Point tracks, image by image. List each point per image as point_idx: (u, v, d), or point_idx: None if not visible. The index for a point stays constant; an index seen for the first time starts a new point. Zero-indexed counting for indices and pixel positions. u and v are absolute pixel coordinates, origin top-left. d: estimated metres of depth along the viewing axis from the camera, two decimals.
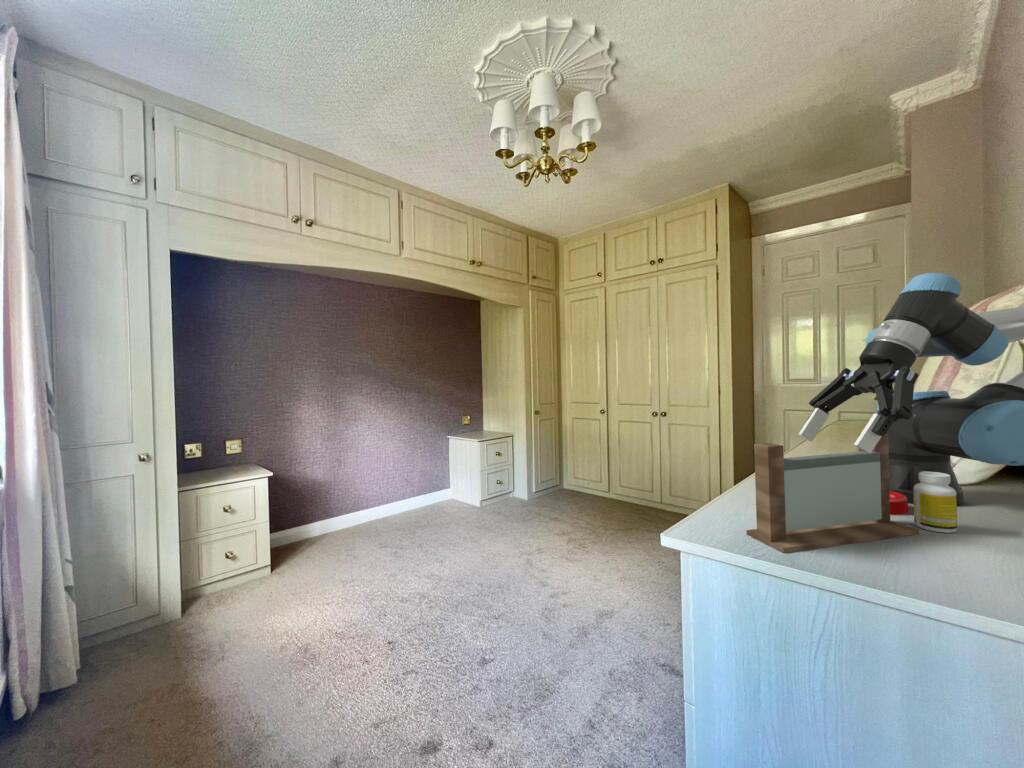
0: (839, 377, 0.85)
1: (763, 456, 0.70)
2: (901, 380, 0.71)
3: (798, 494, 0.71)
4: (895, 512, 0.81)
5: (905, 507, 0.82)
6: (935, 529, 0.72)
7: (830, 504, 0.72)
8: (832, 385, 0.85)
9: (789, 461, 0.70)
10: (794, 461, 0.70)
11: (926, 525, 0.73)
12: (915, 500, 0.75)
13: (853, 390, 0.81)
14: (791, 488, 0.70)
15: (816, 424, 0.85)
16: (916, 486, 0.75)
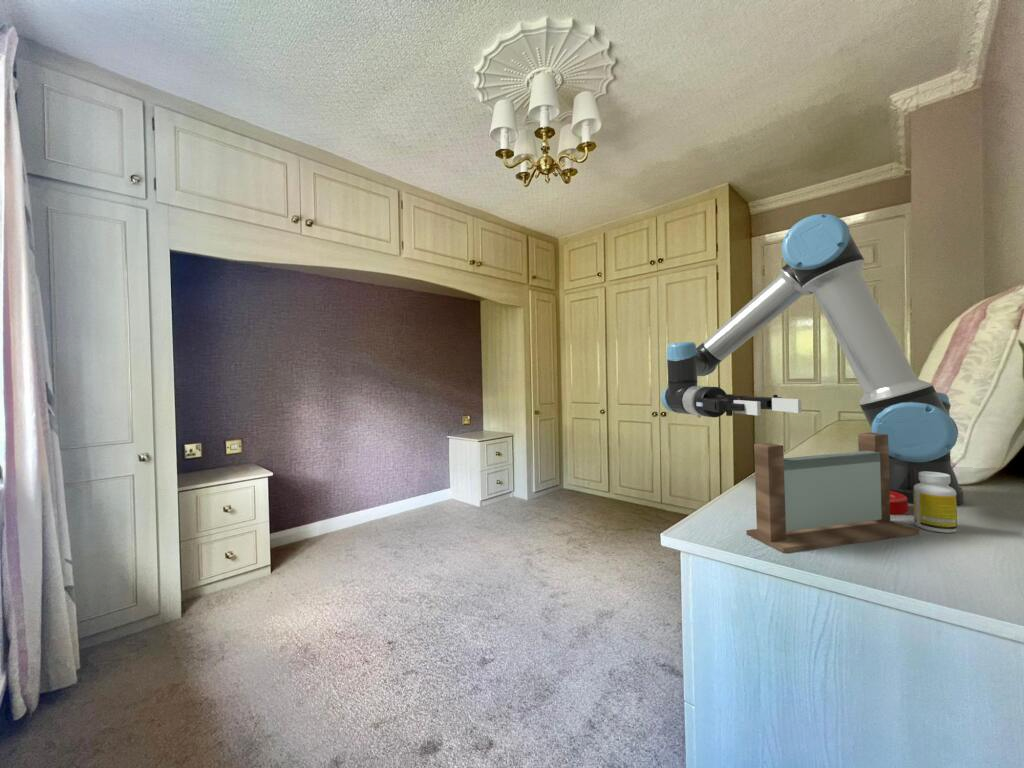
0: None
1: (763, 456, 0.70)
2: (704, 409, 0.94)
3: (798, 494, 0.71)
4: (895, 512, 0.81)
5: (905, 507, 0.82)
6: (935, 529, 0.72)
7: (830, 504, 0.72)
8: None
9: (789, 461, 0.70)
10: (794, 461, 0.70)
11: (926, 525, 0.73)
12: (915, 500, 0.75)
13: None
14: (791, 488, 0.70)
15: (783, 404, 0.86)
16: (916, 486, 0.75)
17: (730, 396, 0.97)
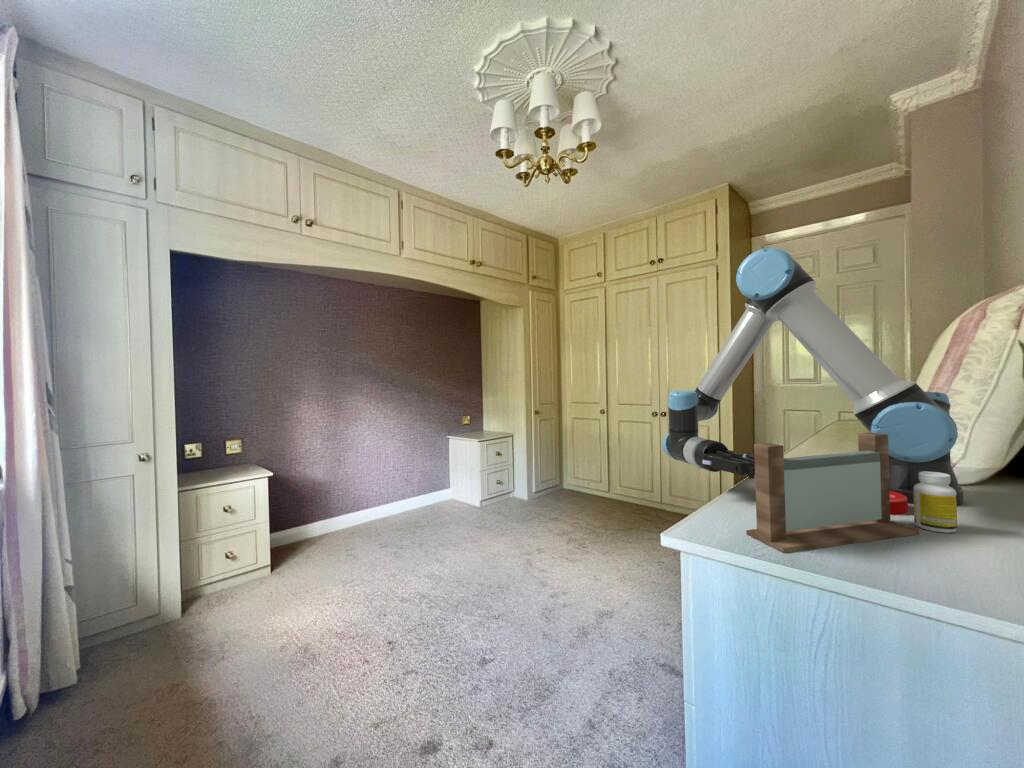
0: None
1: (763, 456, 0.70)
2: (715, 468, 0.94)
3: (798, 494, 0.71)
4: (895, 512, 0.81)
5: (905, 507, 0.82)
6: (935, 529, 0.72)
7: (830, 504, 0.72)
8: None
9: (789, 461, 0.70)
10: (794, 461, 0.70)
11: (926, 525, 0.73)
12: (915, 500, 0.75)
13: None
14: (791, 488, 0.70)
15: None
16: (916, 486, 0.75)
17: (729, 453, 0.97)
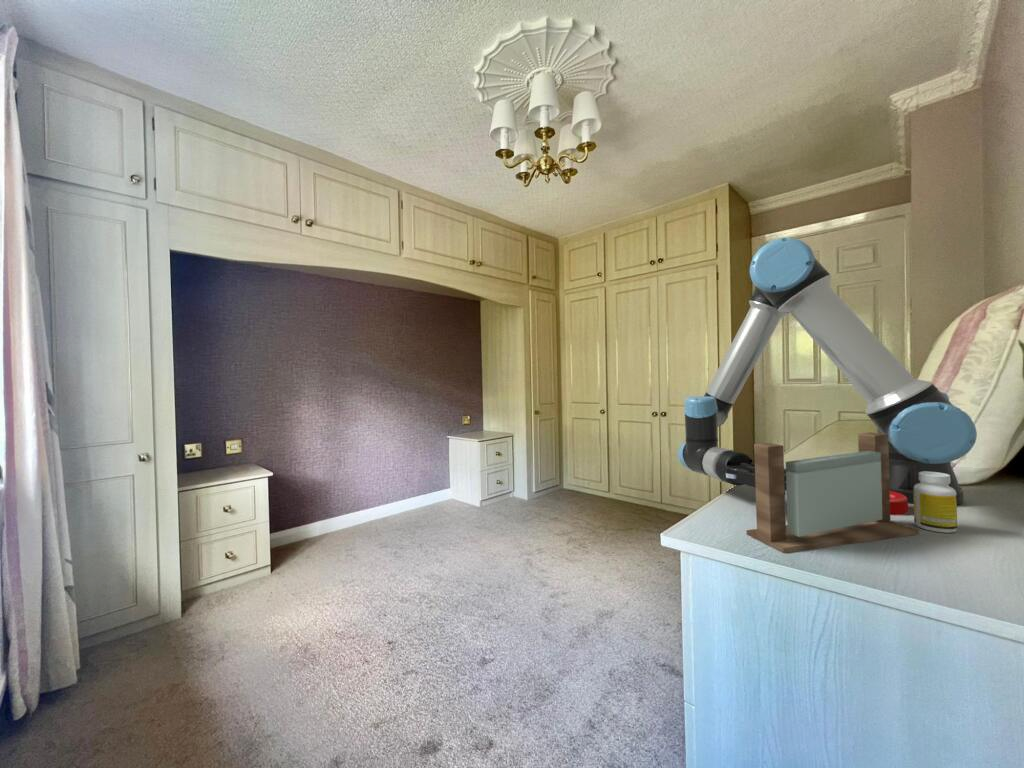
0: None
1: (763, 456, 0.70)
2: (740, 483, 0.85)
3: (810, 497, 0.69)
4: (895, 512, 0.81)
5: (905, 507, 0.82)
6: (935, 529, 0.72)
7: (838, 506, 0.71)
8: None
9: (802, 463, 0.68)
10: (806, 463, 0.68)
11: (926, 525, 0.73)
12: (915, 500, 0.75)
13: None
14: (804, 491, 0.68)
15: None
16: (916, 486, 0.75)
17: (754, 465, 0.89)
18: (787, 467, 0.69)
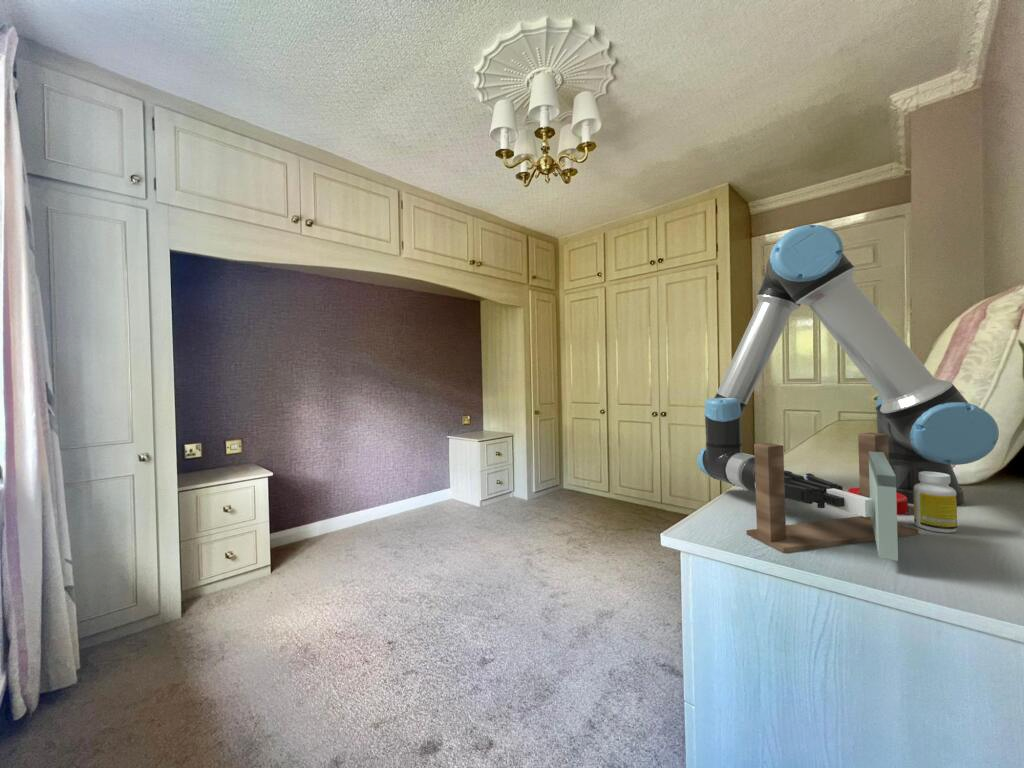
0: None
1: (763, 456, 0.70)
2: None
3: None
4: None
5: (905, 507, 0.82)
6: (935, 529, 0.72)
7: None
8: None
9: (894, 474, 0.59)
10: (894, 474, 0.60)
11: (926, 525, 0.73)
12: (915, 500, 0.75)
13: None
14: None
15: None
16: (916, 486, 0.75)
17: (786, 474, 0.81)
18: (879, 481, 0.59)
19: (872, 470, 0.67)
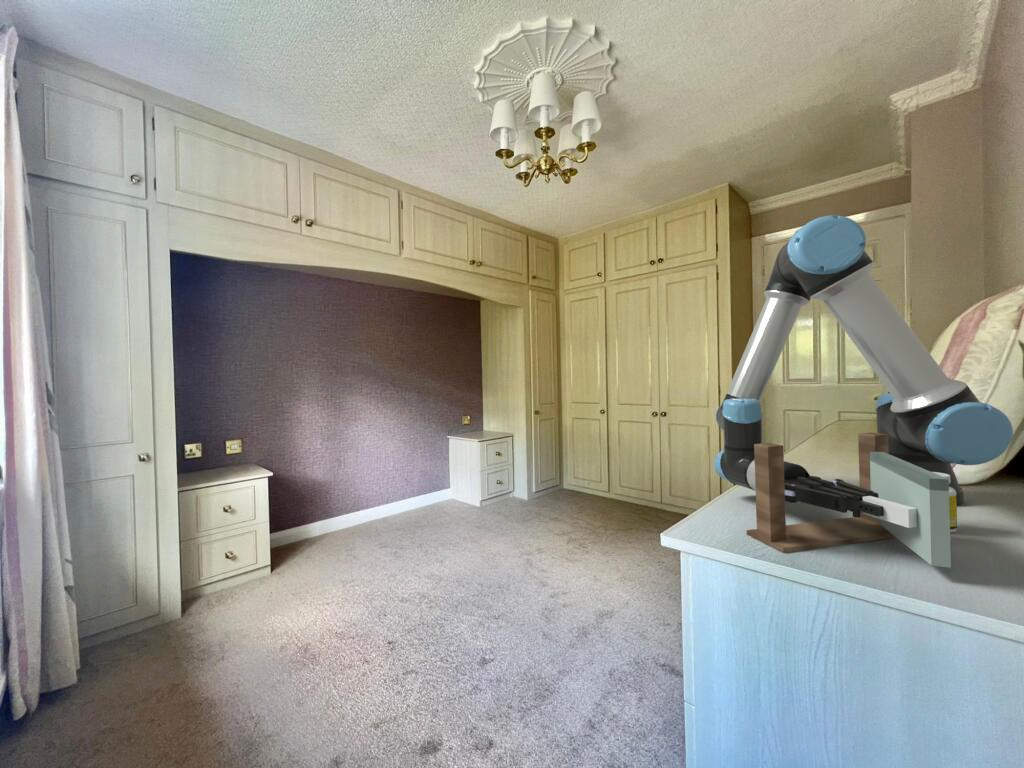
0: None
1: (763, 456, 0.70)
2: (801, 501, 0.72)
3: None
4: None
5: None
6: None
7: None
8: None
9: (943, 477, 0.57)
10: None
11: None
12: None
13: None
14: None
15: None
16: None
17: (814, 480, 0.76)
18: (932, 485, 0.56)
19: (895, 472, 0.66)
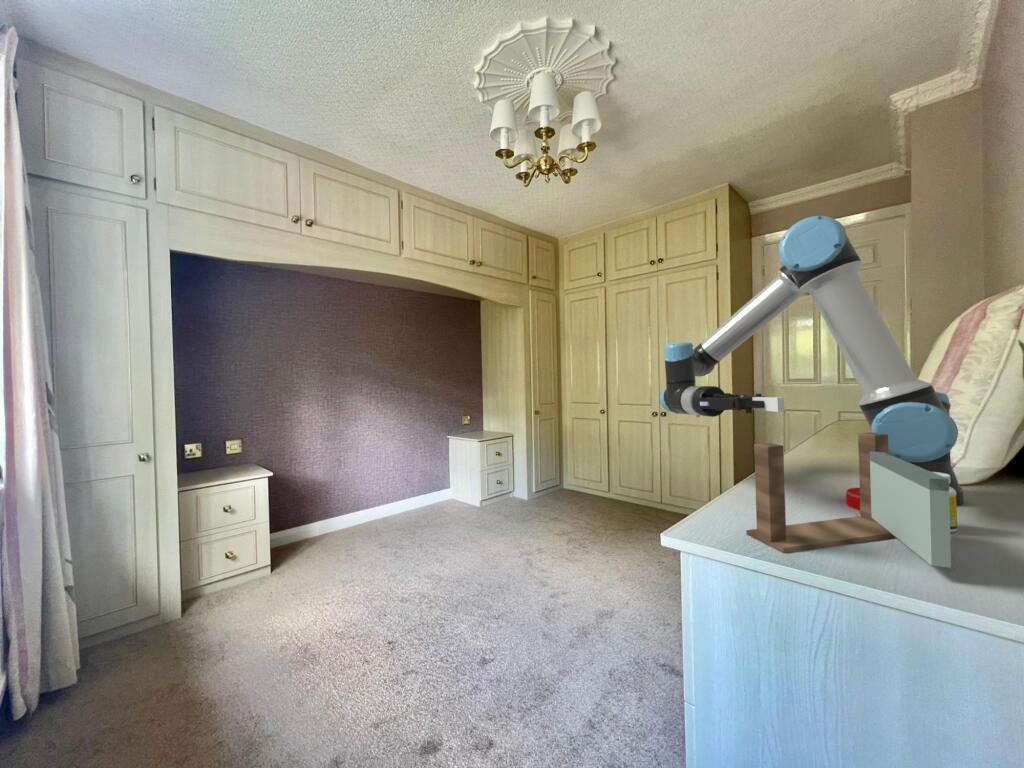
0: None
1: (763, 456, 0.70)
2: (712, 408, 0.94)
3: None
4: None
5: None
6: None
7: None
8: None
9: (943, 477, 0.57)
10: None
11: None
12: None
13: None
14: None
15: None
16: None
17: (726, 395, 0.97)
18: (932, 485, 0.56)
19: (895, 472, 0.66)
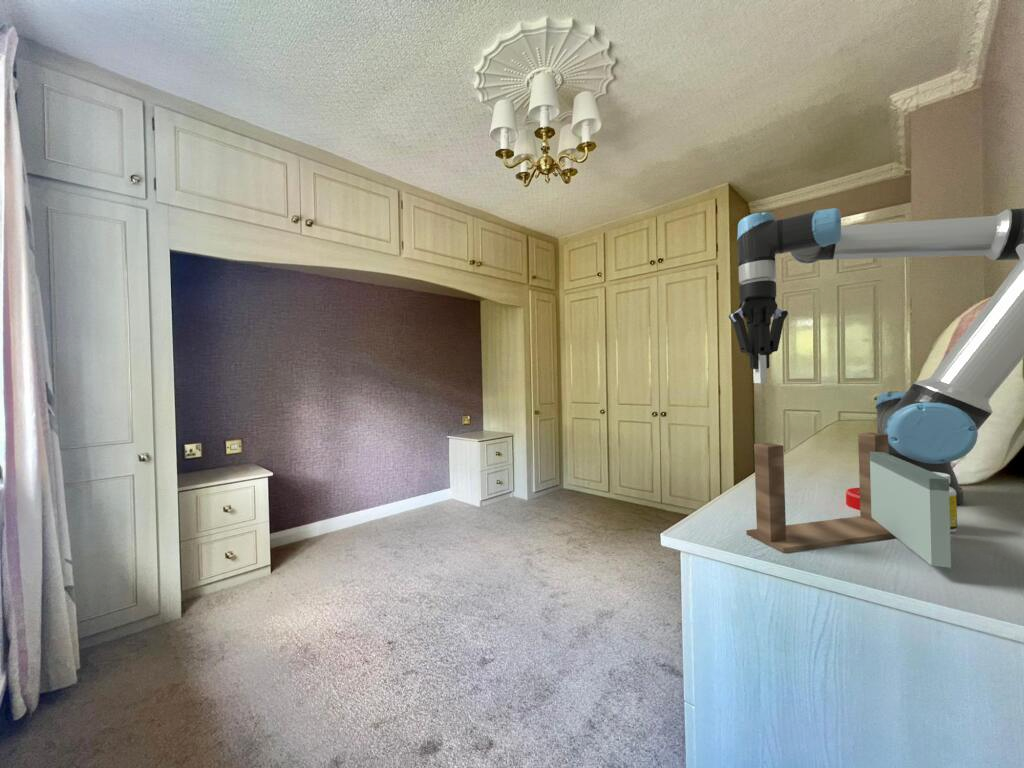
0: None
1: (763, 456, 0.70)
2: (734, 326, 0.98)
3: None
4: None
5: None
6: None
7: None
8: None
9: (943, 477, 0.57)
10: None
11: None
12: None
13: (761, 323, 0.97)
14: None
15: None
16: None
17: (764, 312, 0.96)
18: (932, 485, 0.56)
19: (895, 472, 0.66)
